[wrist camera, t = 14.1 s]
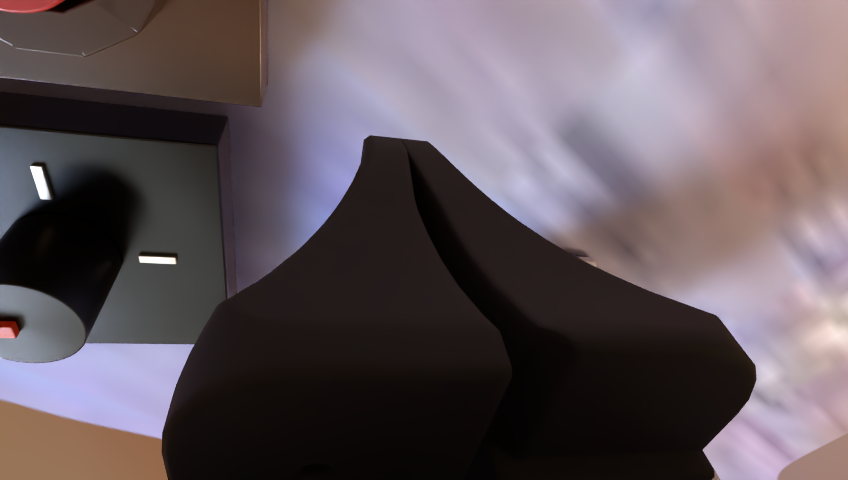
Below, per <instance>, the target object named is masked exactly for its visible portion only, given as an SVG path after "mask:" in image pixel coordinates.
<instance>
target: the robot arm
mask: <svg viewBox="0 0 848 480" xmlns="http://www.w3.org/2000/svg"><path fill="white" fill-rule="evenodd" d="M755 382H756V368H755V364H754V363H753V362H752V360H751V359H750V358H749V357H748V355H747V354H746V353H745V351H744V350H743V349H742V347H741V346H740V345H739V344H738V342H737V341H736V340H735V338H734V337H733V336H732V334H731V333H730V332H729V330H728V329H727V328H726V327H725V325H724V324H723V323H722V321H721V320H720V319H719V318H718V317H717V316H716V315H714V314H711V313H708V312H705V311H702V310H700V309H697V308H694V307H691V306H689V305H686V304H683V303H680V302H678V301H675V300H672V299H669V298H667V297H664V296H661V295H658V294H656V293H653V292H650V291H648V290H646V289H643V288H641V287H639V286H636V285H634V284H632V283H630V282H627V281H625V280H623V279H620V278H618V277H616V276H614V275H611V274H609V273H607V272H605V271H603V270H601V269H599V268H597V264H596V262H595V260H594V259H593V258H590V257H576V256H574V255H572V254H571V253H569V252H567V251H565V250H563V249H561V248H560V247H558V246H556V245H555V244H553V243H551V242H550V241H548V240H546V239H545V238H543V237H542V236H540V235H539V234H537V233H536V232H534V231H533V230H531V229H530V228H528V227H527V226H525V225H524V224H522V223H521V222H519V221H518V220H517V219H515V218H514V217H512V216H511V215H510V214H508V213H507V212H506V211H505V210H503V209H502V208H501V207H500V206H499V205H497V204H496V203H495V202H494V201H492V200H491V199H490V198H489V197H487V196H486V195H485V194H484V193H483V192H482V191H481V190H479V189H478V188H477V187H476V186H475V185H474V184H473V183H472V182H471V181H469V180H468V179H467V178H466V177H465V176H464V175H463V174H462V173H461V172H460V171H459V170H458V169H457V168H456V167H455V166H454V165H453V164H452V163H450V162H449V161H448V160H447V159H446V158H445V157H444V156H443V155H442V154H441V153H440V152H439V151H438V150H437V149H436V148H435V147H434V146H432V145H431V144H430V143H429V142H427V141H418V140H408V139H399V138H390V137H380V136H371V135H370V136H369V137H367V138H366V139H364V142H363V150H362V158H361V164H360V166H359V169H358V171H357V173H356V175H355V178H354V180H353V182H352V183H351V185H350V187H349V188H348V190H347V192H346V193H345V195H344V197H343V198H342V200H341V202H340V203H339V205H338V206H337V207H336V209H335V210H334V211H333V213H332V214H331V215H330V217H329V218H328V219H327V220H326V221H325V223H324V224H323V225H322V226H321V227H320V228H319V229H318V231H317V232H316V233H315V234H314V235H313V236H312V237H311V238H310V239H309V240H308V241H307V242H306V243H305V244H304V245H303V246H302V247H301V248H300V249H299V250H297V251H296V252H295V253H294V254H293V255H291V256H290V257H289V258H288V259H286V260H285V261H284V262H283V263H281V264H280V265H279V266H278V267H276V268H275V269H274V270H273V271H271V272H270V273H269V274H267V275H266V276H265V277H263V278H262V279H260V280H259V281H257V282H255V283H254V284H252V285H250V286H249V287H247V288H245V289H244V290H242V291H240V292H239V293H237V294H235V295H234V296H232V297H230V298H228V299H226V300H224V301H223V302H221V303H220V304H218V305H217V307H216V308H215V310H214V312H213V313H212V315H211V317H210V318H209V320H208V322H207V323H206V325H205V327H204V328H203V330H202V332H201V333H200V335H199V337H198V339H197V341H196V343H195V345H194V347H193V348H192V350H191V352H190V354H189V357H188V359H187V361H186V363H185V366H184V368H183V370H182V372H181V375H180V377H179V380H178V382H177V384H176V387H175V390H174V394H173V397H172V401H171V404H170V408H169V411H168V415H167V418H166V422H165V426H164V429H163V433H162V456H163V460H164V464H165V469H166V473H167V477H168V480H720V479H719V477H718V475H717V473H716V472H715V470H714V468H713V467H712V465H711V463H710V462H709V460H708V459H707V457H706V455H705V454H704V452H703V449H704V448H705V447H706V446H707V445H708V443H709V442H710V441H711V440H712V439H713V438H714V437H715V436H716V435H717V434H718V433H719V432H720V431H721V430H722V429H723V428H724V427H725V426H726V425H727V424H728V423H729V422H730V421H731V420H732V419H733V418H734V417H735V416H736V415H737V414H738V413H739V411H740V410H741V409H742V408H743V406H744V405H745V404H746V402H747V401H748V400H749V398H750V395H751V393H752V390H753V388H754V385H755Z"/></svg>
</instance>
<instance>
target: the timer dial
mask: <svg viewBox="0 0 848 480" xmlns="http://www.w3.org/2000/svg"><path fill="white" fill-rule="evenodd" d="M120 268H121V259H120V255H119V252H118V250H117V248H116V246H115V245H114V244H113V242H112V241H111V240H110V239H109V238H108V237H107V236H106V235H105V234H104V233H102V232H101V231H100V230H98V229H97V228H95V227H93V226H92V225H90V224H88V223H85V222H83V221H81V220H78V219H75V218H71V217H68V216H63V215H55V214H39V215H33V216H29V217H25V218H23V219H21V220H18V221H17V222H15V223H14V224H13V225H12V226H11V227H10V228H9V229H8V230H7V231H6V232H5V234H4V235H3V236H2V237H1V239H0V358H3V359H7V360H12V361H18V362H26V363H46V362H53V361H58V360H62V359H65V358H67V357H70V356H72V355H73V354H75V353H76V352H78V351H79V350H80V349H81V348H82V347H83V346H84V344H85V342H86V340H87V338H88V336H89V334H90V332H91V330H92V328H93V326H94V324H95V322H96V320H97V317H98V315H99V313H100V311H101V309H102V307H103V305H104V303H105V301H106V299H107V297H108V295H109V292H110V290H111V288H112V286H113V284H114V282H115V280H116V278H117V276H118V274H119V272H120Z"/></svg>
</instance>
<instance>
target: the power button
mask: <svg viewBox="0 0 848 480" xmlns="http://www.w3.org/2000/svg"><path fill="white" fill-rule="evenodd" d="M63 1H65V0H0V10H1V11H6V12H11V13H36V12H42V11H45V10H48V9H51V8H53V7H55V6H56V5H58V4H60V3H61V2H63Z"/></svg>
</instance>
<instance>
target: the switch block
mask: <svg viewBox="0 0 848 480" xmlns="http://www.w3.org/2000/svg"><path fill="white" fill-rule="evenodd" d="M0 78H8V79H17V80H26V81H35V82H43V83H52V84H61V85H70V86H79V87H87V88H96V89H105V90H114V91H123V92H131V93H140V94H149V95H158V96H167V97H175V98H184V99H193V100H202V101H211V102H219V103H228V104H237V105H246V106H255V107H262V104H263V100H264V96H265V92H266V88H267V84H268V0H65V1H63V2H61V3H60V4H58V5H56V6H55V7H53V8H51V9H48V10H45V11H42V12H36V13H11V12H6V11H1V10H0Z"/></svg>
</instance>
